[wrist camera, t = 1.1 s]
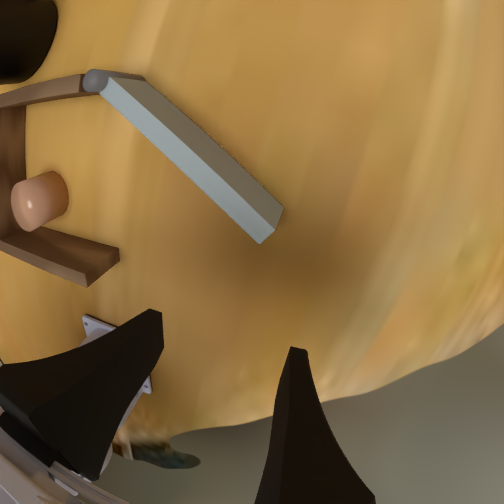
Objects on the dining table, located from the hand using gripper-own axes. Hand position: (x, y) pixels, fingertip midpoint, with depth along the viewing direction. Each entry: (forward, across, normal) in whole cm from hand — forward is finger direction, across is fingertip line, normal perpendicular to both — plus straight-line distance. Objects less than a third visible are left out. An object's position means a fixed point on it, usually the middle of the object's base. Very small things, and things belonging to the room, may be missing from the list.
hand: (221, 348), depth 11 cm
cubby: (+10, +19, -4) cm, 22 cm away
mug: (+10, +25, -18) cm, 32 cm away
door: (+10, +5, -7) cm, 13 cm away
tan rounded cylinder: (+10, +20, -1) cm, 22 cm away
